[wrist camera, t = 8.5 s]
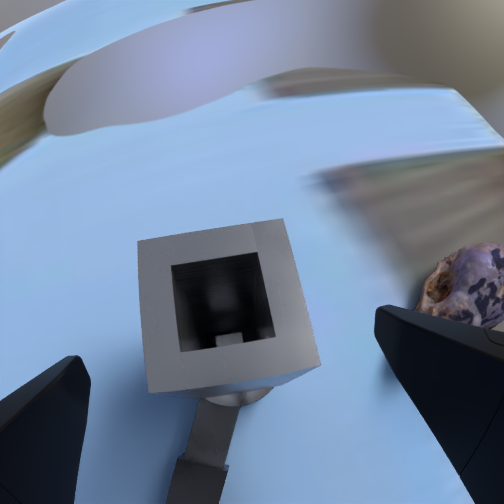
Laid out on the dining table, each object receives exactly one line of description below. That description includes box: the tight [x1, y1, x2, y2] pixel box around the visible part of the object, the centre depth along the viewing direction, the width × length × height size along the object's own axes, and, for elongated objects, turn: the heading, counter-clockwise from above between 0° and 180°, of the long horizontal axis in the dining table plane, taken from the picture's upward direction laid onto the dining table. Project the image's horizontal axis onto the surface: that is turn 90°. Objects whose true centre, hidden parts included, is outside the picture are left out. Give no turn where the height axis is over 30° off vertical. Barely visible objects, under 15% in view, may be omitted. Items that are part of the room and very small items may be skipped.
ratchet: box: [166, 327, 274, 504], centre depth 16 cm, size 16×6×4 cm, turn 167°
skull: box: [414, 242, 504, 329], centre depth 19 cm, size 12×8×6 cm, turn 115°
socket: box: [137, 218, 321, 399], centre depth 14 cm, size 5×5×10 cm
